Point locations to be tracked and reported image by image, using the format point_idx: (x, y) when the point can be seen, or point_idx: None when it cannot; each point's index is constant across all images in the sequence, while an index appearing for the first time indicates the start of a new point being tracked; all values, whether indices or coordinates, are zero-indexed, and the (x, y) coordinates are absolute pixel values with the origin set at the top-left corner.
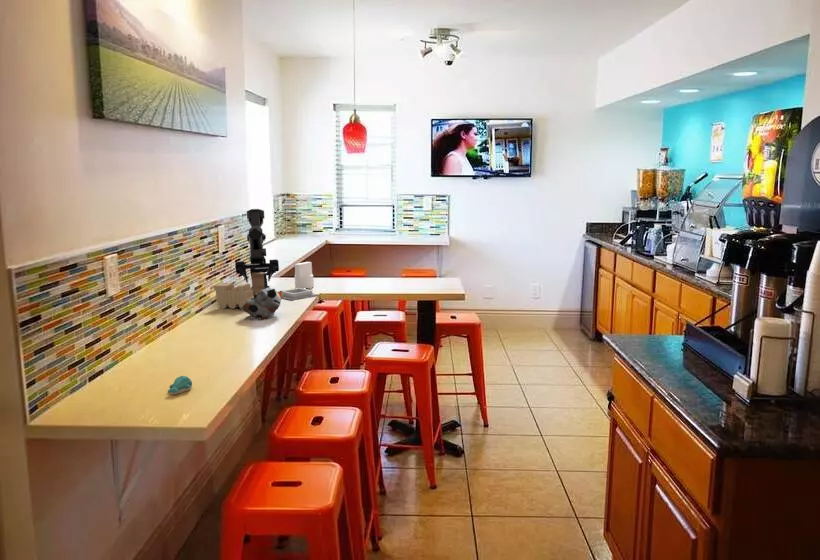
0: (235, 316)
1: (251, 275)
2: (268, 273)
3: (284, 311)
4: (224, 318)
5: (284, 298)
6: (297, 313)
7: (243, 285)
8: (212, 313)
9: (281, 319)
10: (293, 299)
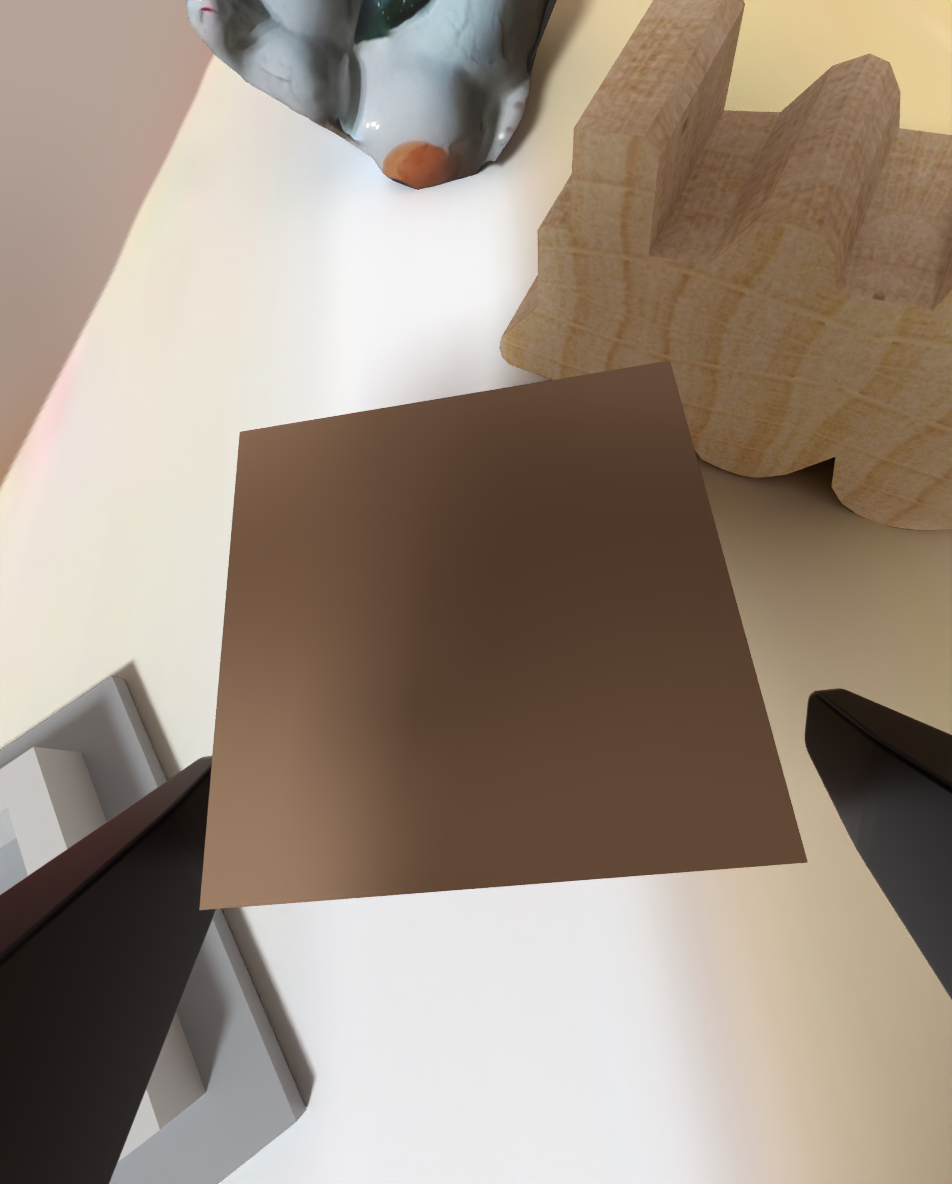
0: None
1: (658, 389)
2: (42, 914)
3: (254, 235)
4: None
5: None
6: (171, 180)
7: (672, 18)
8: None
9: None
10: (90, 696)
